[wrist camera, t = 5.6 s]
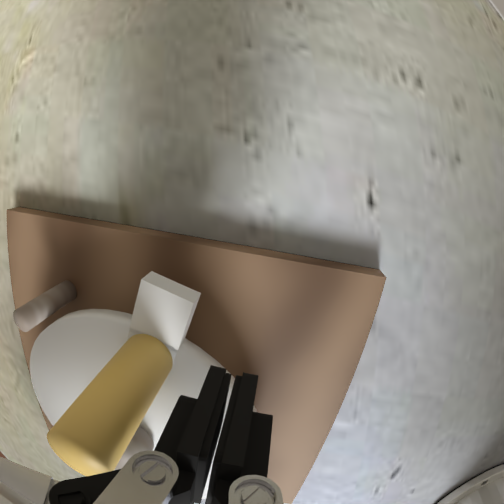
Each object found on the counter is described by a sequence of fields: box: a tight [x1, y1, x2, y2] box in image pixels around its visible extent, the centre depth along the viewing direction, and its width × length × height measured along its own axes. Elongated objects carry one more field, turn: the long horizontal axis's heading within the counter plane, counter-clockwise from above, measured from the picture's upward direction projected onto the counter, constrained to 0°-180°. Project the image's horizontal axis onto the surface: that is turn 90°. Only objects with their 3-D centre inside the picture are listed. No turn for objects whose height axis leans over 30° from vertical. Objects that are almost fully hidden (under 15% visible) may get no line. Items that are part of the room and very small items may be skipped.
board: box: [7, 207, 386, 504], centre depth 15 cm, size 22×20×6 cm
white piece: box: [30, 271, 257, 499], centre depth 11 cm, size 14×16×7 cm
